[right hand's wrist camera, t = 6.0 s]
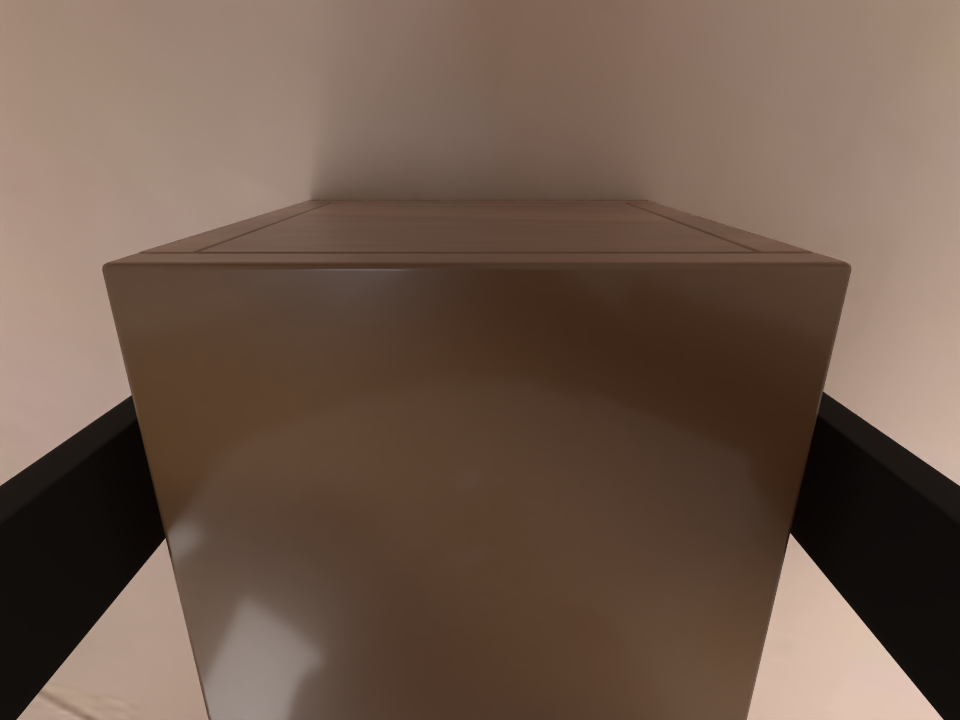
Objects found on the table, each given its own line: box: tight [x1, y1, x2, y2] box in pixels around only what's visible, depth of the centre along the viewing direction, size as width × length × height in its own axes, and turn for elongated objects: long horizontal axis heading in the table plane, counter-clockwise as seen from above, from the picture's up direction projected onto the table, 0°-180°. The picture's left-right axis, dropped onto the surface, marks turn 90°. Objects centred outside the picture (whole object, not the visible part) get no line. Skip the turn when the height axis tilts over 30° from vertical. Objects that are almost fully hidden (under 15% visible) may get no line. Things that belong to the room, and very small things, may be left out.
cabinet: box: [102, 200, 851, 720], centre depth 17 cm, size 21×11×11 cm, turn 0°
